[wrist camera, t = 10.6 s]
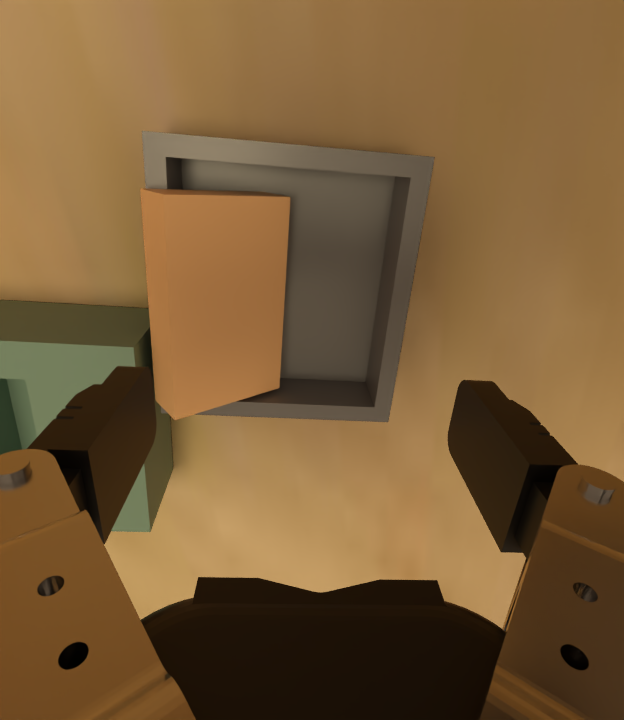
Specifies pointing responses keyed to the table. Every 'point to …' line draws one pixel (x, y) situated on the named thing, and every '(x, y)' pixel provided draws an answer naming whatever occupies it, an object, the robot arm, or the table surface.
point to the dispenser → (77, 381)
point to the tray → (321, 262)
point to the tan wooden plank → (214, 294)
